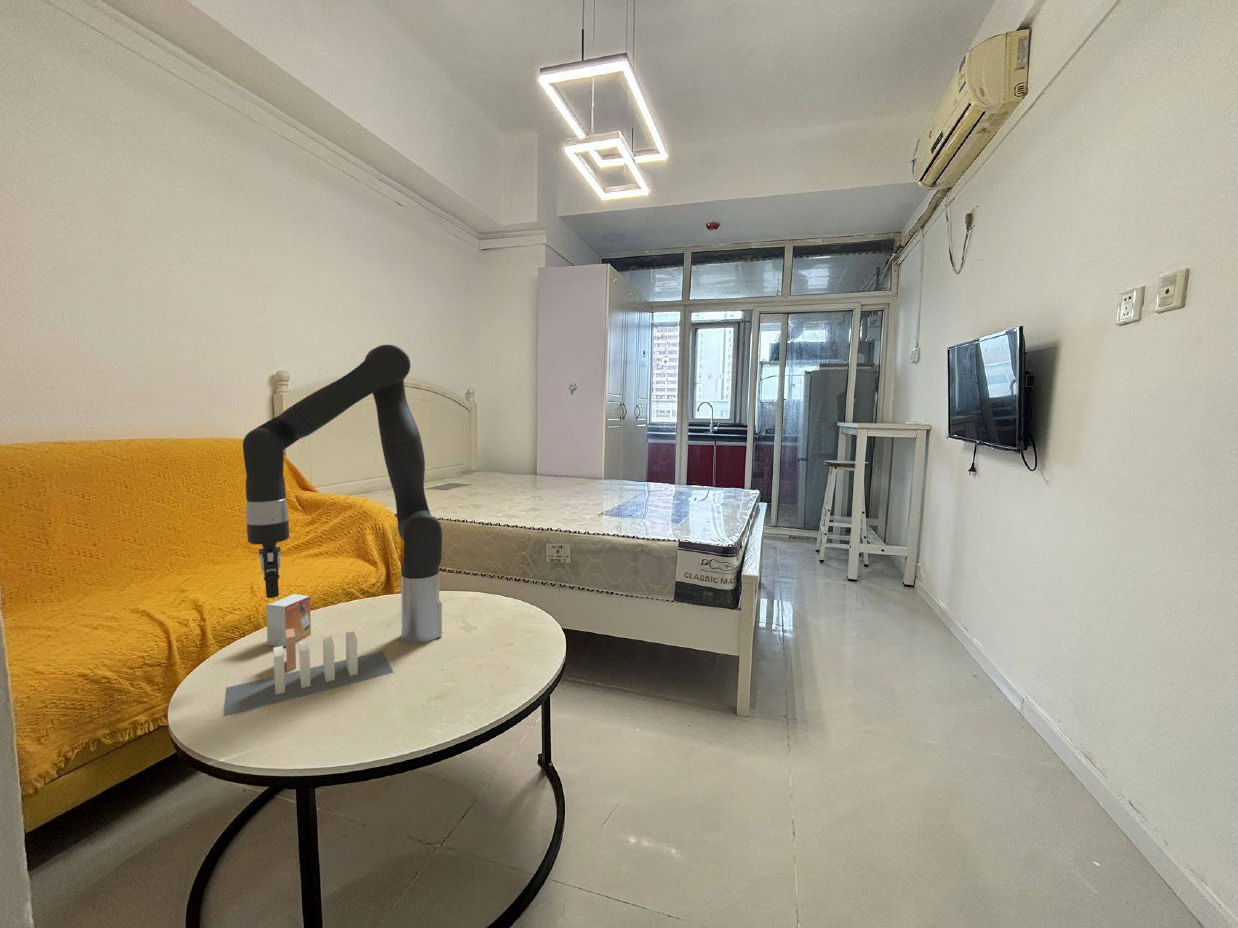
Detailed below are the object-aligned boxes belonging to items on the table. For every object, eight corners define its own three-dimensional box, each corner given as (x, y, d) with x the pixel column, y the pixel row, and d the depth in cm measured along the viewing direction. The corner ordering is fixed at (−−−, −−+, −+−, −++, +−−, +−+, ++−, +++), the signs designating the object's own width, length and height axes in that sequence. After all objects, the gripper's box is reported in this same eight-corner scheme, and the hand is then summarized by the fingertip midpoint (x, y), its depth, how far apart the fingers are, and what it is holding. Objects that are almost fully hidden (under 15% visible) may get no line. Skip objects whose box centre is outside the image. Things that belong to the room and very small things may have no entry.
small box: (285, 648, 122) (284, 606, 121) (266, 645, 123) (265, 604, 122) (311, 634, 130) (310, 595, 129) (293, 631, 131) (292, 593, 130)
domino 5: (354, 664, 114) (353, 631, 114) (357, 673, 110) (357, 639, 110) (346, 666, 113) (345, 632, 113) (349, 675, 109) (349, 641, 109)
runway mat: (382, 652, 121) (382, 651, 121) (393, 673, 112) (393, 672, 111) (226, 689, 103) (226, 687, 103) (223, 718, 94) (223, 716, 94)
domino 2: (294, 661, 116) (293, 628, 115) (296, 670, 112) (295, 636, 111) (286, 662, 115) (285, 629, 114) (287, 672, 111) (286, 637, 110)
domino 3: (308, 675, 109) (307, 640, 108) (310, 685, 105) (309, 649, 104) (299, 677, 108) (298, 642, 107) (301, 687, 104) (300, 651, 103)
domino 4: (331, 669, 112) (331, 635, 111) (334, 679, 108) (333, 644, 107) (323, 671, 111) (322, 637, 110) (326, 681, 107) (325, 646, 106)
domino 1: (283, 681, 106) (282, 645, 106) (284, 692, 102) (283, 655, 102) (274, 683, 105) (273, 647, 105) (275, 694, 101) (274, 657, 101)
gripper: (290, 523, 105) (294, 597, 106) (286, 512, 116) (290, 579, 118) (245, 528, 100) (250, 605, 102) (246, 515, 112) (251, 585, 113)
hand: (272, 591), depth 110 cm, fingers open, 8 cm apart
